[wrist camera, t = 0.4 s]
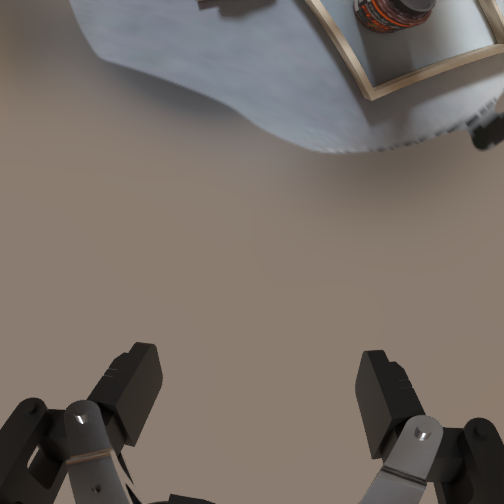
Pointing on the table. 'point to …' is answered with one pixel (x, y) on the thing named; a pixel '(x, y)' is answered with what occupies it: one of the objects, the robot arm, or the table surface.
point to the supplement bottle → (392, 13)
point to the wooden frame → (500, 28)
